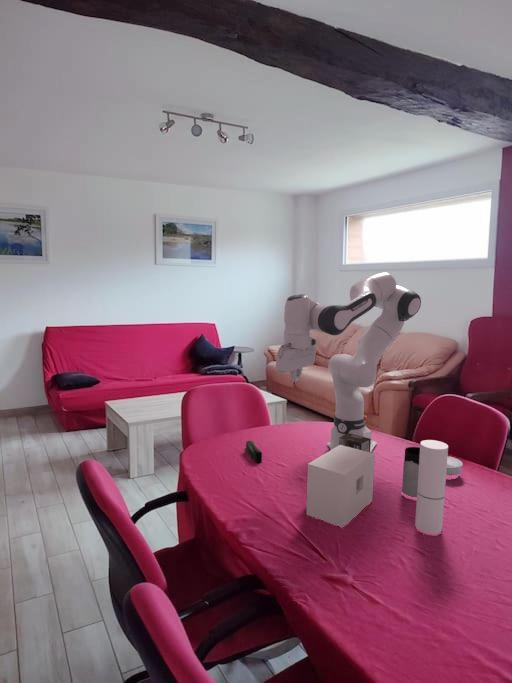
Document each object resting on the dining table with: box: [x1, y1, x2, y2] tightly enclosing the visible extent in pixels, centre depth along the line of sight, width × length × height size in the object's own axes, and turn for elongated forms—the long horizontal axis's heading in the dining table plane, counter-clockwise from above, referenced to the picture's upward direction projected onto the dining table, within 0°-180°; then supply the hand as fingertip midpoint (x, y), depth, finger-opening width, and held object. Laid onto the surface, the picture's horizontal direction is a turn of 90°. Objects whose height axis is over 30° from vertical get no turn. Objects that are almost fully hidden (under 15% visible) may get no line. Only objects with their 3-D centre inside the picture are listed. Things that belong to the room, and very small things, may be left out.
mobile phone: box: [244, 440, 263, 464], centre depth 182 cm, size 5×3×15 cm
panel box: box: [306, 445, 376, 528], centre depth 140 cm, size 20×12×16 cm, turn 142°
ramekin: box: [446, 456, 464, 476], centre depth 166 cm, size 11×11×5 cm
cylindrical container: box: [414, 439, 449, 534], centre depth 129 cm, size 7×7×25 cm
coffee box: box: [339, 433, 372, 452], centre depth 158 cm, size 9×6×16 cm
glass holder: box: [401, 446, 420, 497], centre depth 152 cm, size 9×14×15 cm, turn 137°
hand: (295, 381), depth 161 cm, fingers closed
